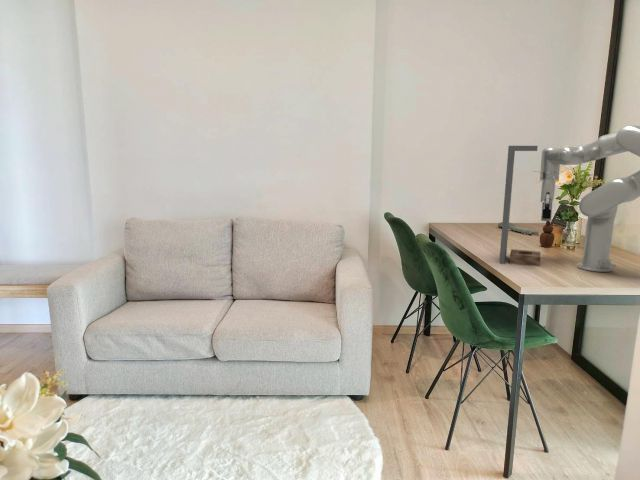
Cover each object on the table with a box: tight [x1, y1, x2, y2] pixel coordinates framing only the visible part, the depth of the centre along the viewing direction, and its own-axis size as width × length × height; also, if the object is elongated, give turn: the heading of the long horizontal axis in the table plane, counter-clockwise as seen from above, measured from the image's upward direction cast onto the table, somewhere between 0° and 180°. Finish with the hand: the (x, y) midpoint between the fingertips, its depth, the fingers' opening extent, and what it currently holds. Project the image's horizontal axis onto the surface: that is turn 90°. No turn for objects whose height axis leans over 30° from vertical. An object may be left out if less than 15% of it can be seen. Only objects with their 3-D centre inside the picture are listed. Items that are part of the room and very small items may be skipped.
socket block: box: [508, 248, 541, 267], centre depth 211 cm, size 12×12×4 cm
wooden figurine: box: [539, 221, 555, 248], centre depth 245 cm, size 7×6×15 cm
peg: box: [540, 201, 553, 222], centre depth 213 cm, size 4×4×8 cm
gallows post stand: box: [499, 145, 538, 264], centre depth 208 cm, size 11×16×50 cm
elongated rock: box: [497, 221, 540, 236], centre depth 296 cm, size 35×5×10 cm
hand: (546, 217), depth 213 cm, fingers closed on peg, 4 cm apart
